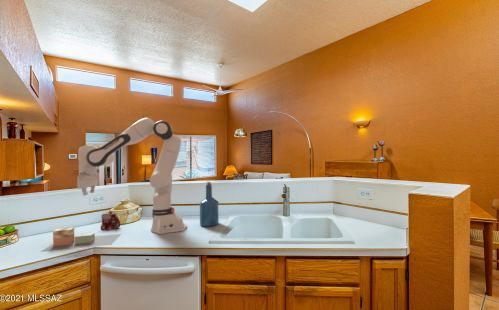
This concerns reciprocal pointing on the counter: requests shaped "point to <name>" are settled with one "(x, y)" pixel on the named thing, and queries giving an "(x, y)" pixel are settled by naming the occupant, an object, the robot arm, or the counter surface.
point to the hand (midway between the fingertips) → (88, 193)
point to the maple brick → (63, 233)
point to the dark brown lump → (110, 221)
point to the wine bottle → (209, 209)
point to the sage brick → (84, 238)
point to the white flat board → (97, 242)
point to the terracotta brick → (63, 241)
